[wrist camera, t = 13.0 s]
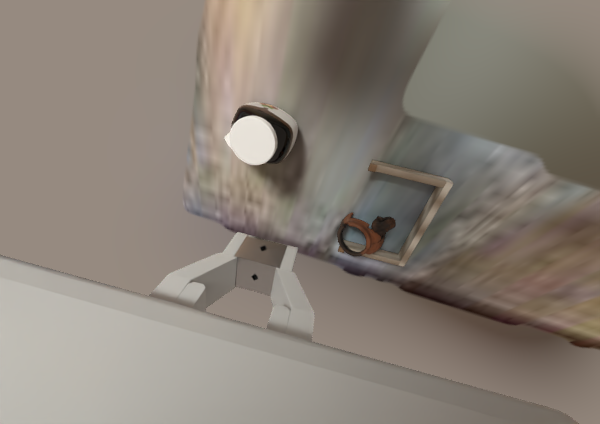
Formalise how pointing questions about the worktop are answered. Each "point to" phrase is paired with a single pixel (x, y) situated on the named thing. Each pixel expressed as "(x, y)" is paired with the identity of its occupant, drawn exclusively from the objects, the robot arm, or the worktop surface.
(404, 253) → the wooden u-shaped frame
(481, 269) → the worktop surface
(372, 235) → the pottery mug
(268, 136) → the spread jar
